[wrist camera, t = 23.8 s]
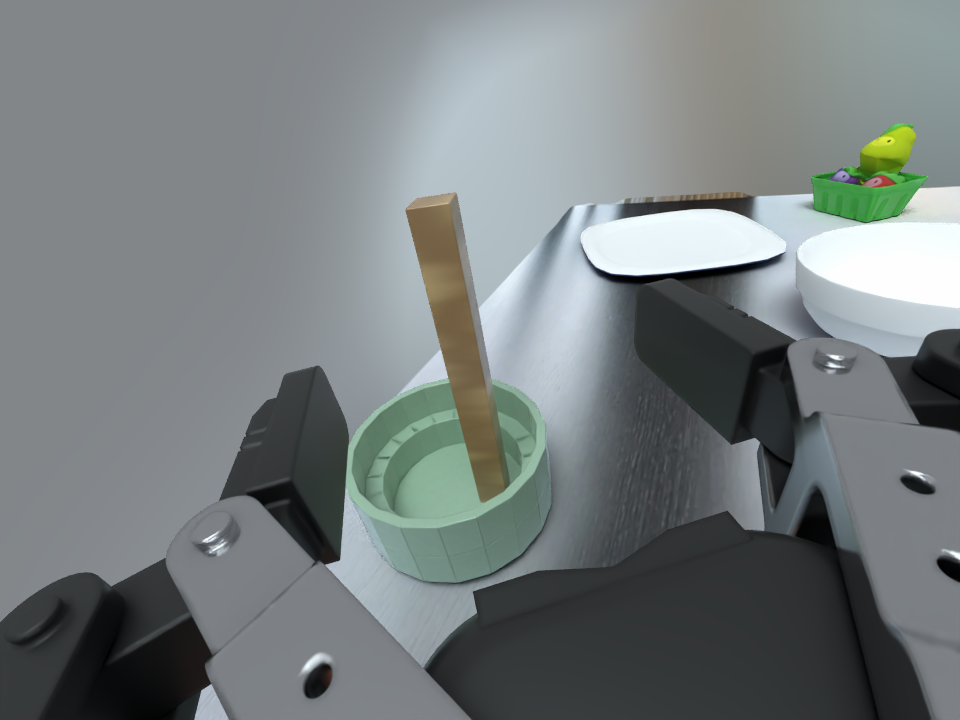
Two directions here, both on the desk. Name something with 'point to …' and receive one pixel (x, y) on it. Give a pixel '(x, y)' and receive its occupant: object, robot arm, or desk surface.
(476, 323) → the stirring stick
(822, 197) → the fruit basket
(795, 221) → the desk surface
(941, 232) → the bowl
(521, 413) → the mixing bowl
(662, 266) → the plate
